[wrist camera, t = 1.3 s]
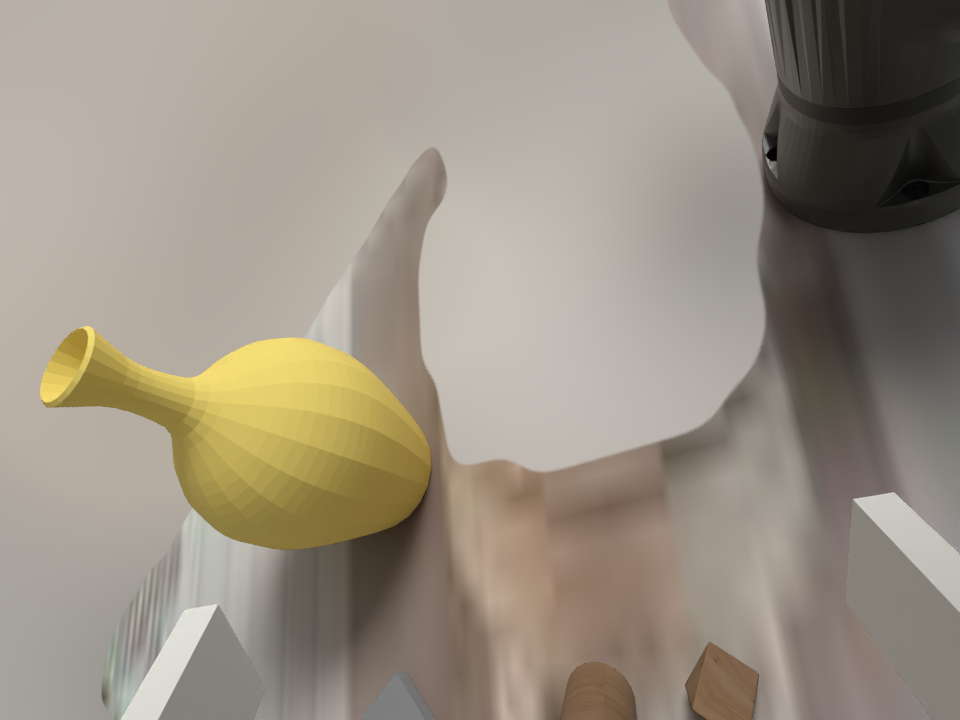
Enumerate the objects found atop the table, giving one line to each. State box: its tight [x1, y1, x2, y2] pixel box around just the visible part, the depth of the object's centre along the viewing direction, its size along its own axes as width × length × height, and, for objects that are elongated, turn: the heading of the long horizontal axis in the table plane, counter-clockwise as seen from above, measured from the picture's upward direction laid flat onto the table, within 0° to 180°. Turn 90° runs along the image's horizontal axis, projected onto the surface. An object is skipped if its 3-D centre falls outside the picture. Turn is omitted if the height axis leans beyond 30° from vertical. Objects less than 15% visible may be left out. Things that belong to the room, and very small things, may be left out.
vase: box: [40, 326, 431, 550], centre depth 42 cm, size 16×16×28 cm
